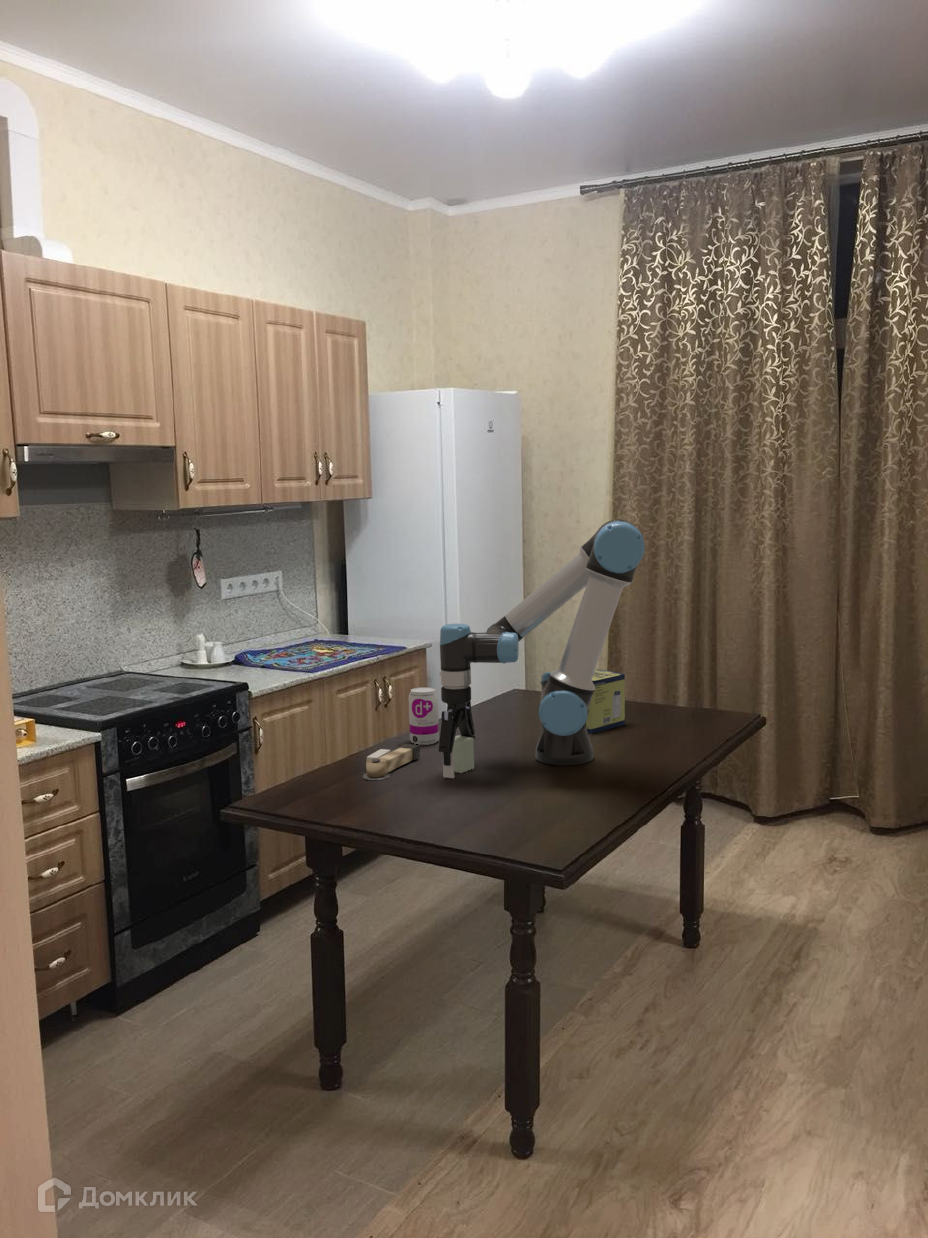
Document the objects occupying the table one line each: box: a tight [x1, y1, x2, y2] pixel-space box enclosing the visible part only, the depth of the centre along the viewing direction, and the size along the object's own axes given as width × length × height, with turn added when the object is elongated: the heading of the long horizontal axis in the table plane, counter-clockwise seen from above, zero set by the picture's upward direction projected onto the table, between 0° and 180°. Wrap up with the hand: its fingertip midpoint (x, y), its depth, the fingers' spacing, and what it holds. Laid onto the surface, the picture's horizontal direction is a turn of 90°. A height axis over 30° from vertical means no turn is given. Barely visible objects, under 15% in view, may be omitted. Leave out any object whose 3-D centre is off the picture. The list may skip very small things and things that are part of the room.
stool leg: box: [365, 743, 421, 777], centre depth 268 cm, size 20×5×4 cm, turn 153°
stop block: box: [366, 748, 392, 762], centre depth 271 cm, size 3×8×3 cm, turn 158°
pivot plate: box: [362, 772, 392, 781], centre depth 261 cm, size 7×7×1 cm
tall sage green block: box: [452, 734, 475, 774], centre depth 266 cm, size 5×5×8 cm
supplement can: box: [408, 686, 440, 746], centre depth 292 cm, size 8×8×15 cm
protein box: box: [586, 669, 626, 735], centre depth 305 cm, size 10×16×16 cm
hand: (457, 771), depth 264 cm, fingers open, 11 cm apart
